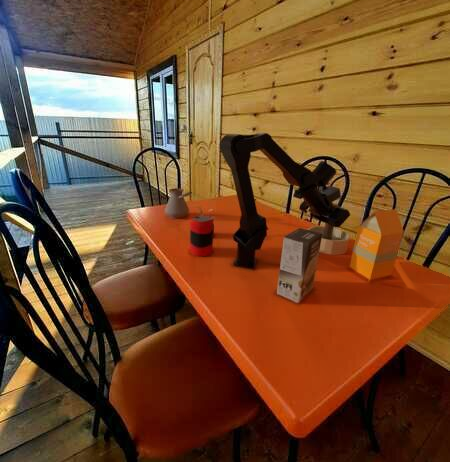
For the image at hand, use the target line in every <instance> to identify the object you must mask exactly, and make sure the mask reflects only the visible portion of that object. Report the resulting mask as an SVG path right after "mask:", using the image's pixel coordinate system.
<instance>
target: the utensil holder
mask: <svg viewBox="0 0 450 462" xmlns="http://www.w3.org/2000/svg"><path fill="white" fill-rule="evenodd" d="M197 206H198V212H199V214H200V216H203V214H202V213H203V211H202V207H201V204H199V205H197ZM207 213H208V217H209V218H210V219H211V220H212V222H213V236H214V235H215V223H214V217H212V216H210V214H211V212H210V210H208V212H207ZM212 213H215V210H212Z"/></svg>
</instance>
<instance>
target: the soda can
mask: <svg viewBox="0 0 450 462" xmlns="http://www.w3.org/2000/svg"><path fill="white" fill-rule="evenodd" d="M209 217H210V216H208V215H202V216H201V215H197V216H194V217H193V218H192V219H191V220H190V222H189V238H190V239H189V242H190V243H189V246H190V247H189V248H190V250H189V251H190V253H191V254H192V255H193V256H196V257H206V256H210V255H211V254H212V253H213V252H214V250H213V249H214V248H213V247H214V246H213V245H214V235H213V223H214V221H213V222H212V220H211V219H210V218H209Z"/></svg>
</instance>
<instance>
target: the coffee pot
mask: <svg viewBox="0 0 450 462" xmlns="http://www.w3.org/2000/svg"><path fill="white" fill-rule="evenodd" d="M168 191H169V192H170V195H169V199H168V201H167V203H166V206H165V208H164V212H165V214H166V215H167V216H168V217H169V218H172V219H182V218H185V217H186V216H187V215H188V214H189V212H190V209H189V205H188V204H187V201H186V199H185V197H188V196H189V197H191V198H192V197H194V196H195V193H194V192H192V191H188V192H185V193H184V189H183V188H178V187H176V188H169V190H168ZM183 193H184V194H183ZM191 194H193V195H191Z"/></svg>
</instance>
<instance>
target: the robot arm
mask: <svg viewBox="0 0 450 462" xmlns="http://www.w3.org/2000/svg"><path fill="white" fill-rule="evenodd" d="M219 150H220V151H221V152H220V153H221V155H222V157H223V159H224V161H225V163H226V164H227V166H228V167H229V169H230V171H231V175H232V180H233V184H234V189H235V192H236V196H237V197H236V198H237V200H238V205H239V209H240V219H239V228H238V229H237V230H236V231H235V232H234V233H233V234H232V239H233V241H234V242H235V243H236V244H237V245H236V247H237V248H236V258H235V260H234V261H233V264H232V265H233V266H235V267H240V268H245V269H251V270H254V269H255V266H256V265H257V262H258V257H257V258H256V252H257V251H259V250H261V248H262V245H263V243H264V241H265V238H266V237H267V235H268V231H269V228H268V225H267V218H266V217H265V216H263V215H261V214H259V212H258V209H257V205H256V200H255V195H254V189H253V184H252V180H251V173H250V169H249V165H250V161H251V156H252V154H251V153H254V152H258V151H260V153H262V154H263V156H264V155H265V157H266V158H267V159H269V161H271V162H272V163H273V165H275V166H276V167H277V168H278V169H279V170H280V171H281V173H282V176H283V178H284V180H285V181H286V182H287V183H288V184H289V185H290V186H291V185H292V186H294V187H298V188H296V189H294V193H293V198H296V199H298V200H302V199H303V201H302V202H301V203H300V204H299V207H298V208H299V210H300V211H301V213H303V214H307V213H308V212H309V216H310V217H312V218H314V219H316V220H318V221H320V222H322V223H324V224H325V223H327V224H329V225H331V226H333V227H334V228H341V226H342V225H343V224H344V223H345V222H346V221H347V219H349V217H350V216H351V212H350V211H349V209H347V208H344V207H342V206H338V207H336V208H335V207H331V208H329V207H330V206H332V205H333V203H334V202H335V201H337V200H338V199H341V198H342V195H341V189H340V188H339V187H337V186H331V185H328V184H329V183H330V182H331V180H333V178H334V177H335V176H336V175H337V169H336V168H335V167H333V166H332V165H331V164H329V163H328V161H325V160H320V161H319V163H318V164H317V166H316V167H315V168H314V169H313V170H312V171H311V169H309V168H308V167H307V166H304V165H302V164H300V163H298V162H296V160H294V159H293V158H292V157H291V156H290V155H289V154H288V153H287V152H286V151H285V150H284V149H283V148H282V147H281V146H280V144H278V142H276V141H275V139H273V137H272V136H271V134H269V133H267V132H257V133H254V134H246V135H245V134H244V135H243V134H237V133H227V134H225V135H224V136H223V137H222V138H221V140H220V141H219Z"/></svg>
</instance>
